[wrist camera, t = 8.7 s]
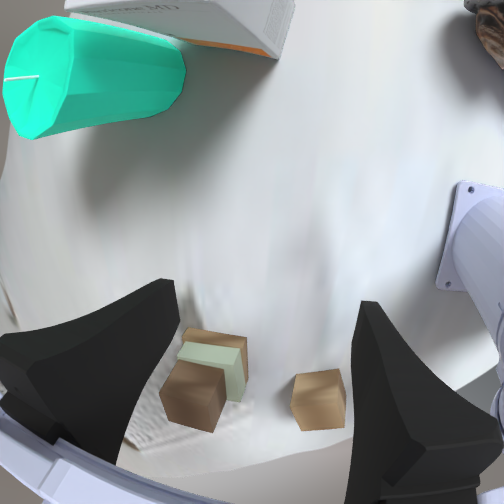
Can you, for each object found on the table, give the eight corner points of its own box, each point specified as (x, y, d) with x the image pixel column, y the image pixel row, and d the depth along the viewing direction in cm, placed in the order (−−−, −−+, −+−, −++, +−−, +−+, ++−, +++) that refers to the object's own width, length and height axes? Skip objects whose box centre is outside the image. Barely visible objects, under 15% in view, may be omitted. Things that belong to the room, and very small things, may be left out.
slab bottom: (248, 333, 27) (242, 348, 25) (249, 374, 29) (244, 389, 28) (190, 323, 28) (181, 336, 26) (197, 364, 30) (190, 377, 29)
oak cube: (339, 367, 26) (336, 402, 22) (346, 394, 27) (344, 427, 24) (296, 373, 27) (289, 407, 24) (306, 399, 28) (301, 431, 25)
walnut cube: (224, 369, 24) (207, 406, 20) (226, 398, 26) (212, 433, 22) (178, 359, 25) (158, 393, 21) (185, 388, 27) (168, 420, 23)
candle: (187, 112, 19) (48, 135, 9) (117, 121, 21) (-18, 155, 10) (185, 30, 17) (50, -11, 6) (114, 48, 18) (-21, 43, 7)
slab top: (240, 348, 25) (233, 365, 23) (245, 386, 27) (240, 402, 26) (185, 341, 26) (176, 356, 25) (196, 378, 29) (189, 393, 27)
